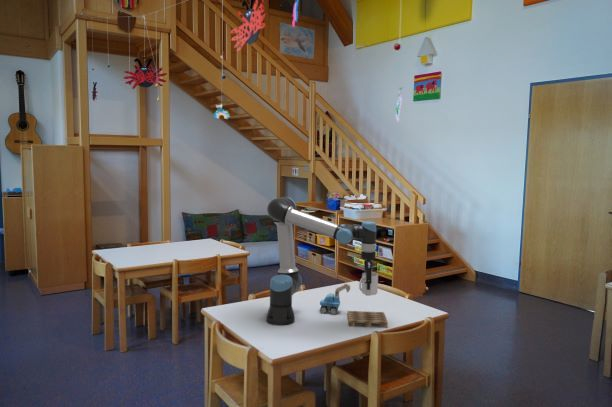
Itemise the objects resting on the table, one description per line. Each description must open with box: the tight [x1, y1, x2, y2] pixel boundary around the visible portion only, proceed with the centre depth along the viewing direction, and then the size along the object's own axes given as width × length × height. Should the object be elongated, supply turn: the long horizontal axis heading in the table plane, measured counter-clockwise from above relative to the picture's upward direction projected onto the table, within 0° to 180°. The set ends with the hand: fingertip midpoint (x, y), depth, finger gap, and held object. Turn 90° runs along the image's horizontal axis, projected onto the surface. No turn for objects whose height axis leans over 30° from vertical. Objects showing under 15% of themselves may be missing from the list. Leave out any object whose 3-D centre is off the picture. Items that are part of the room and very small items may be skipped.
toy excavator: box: [319, 282, 351, 315], centre depth 277 cm, size 9×17×17 cm, turn 78°
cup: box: [358, 272, 379, 296], centre depth 260 cm, size 8×12×10 cm
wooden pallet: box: [346, 310, 389, 329], centre depth 263 cm, size 20×16×3 cm
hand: (367, 292), depth 261 cm, fingers closed on cup, 9 cm apart
